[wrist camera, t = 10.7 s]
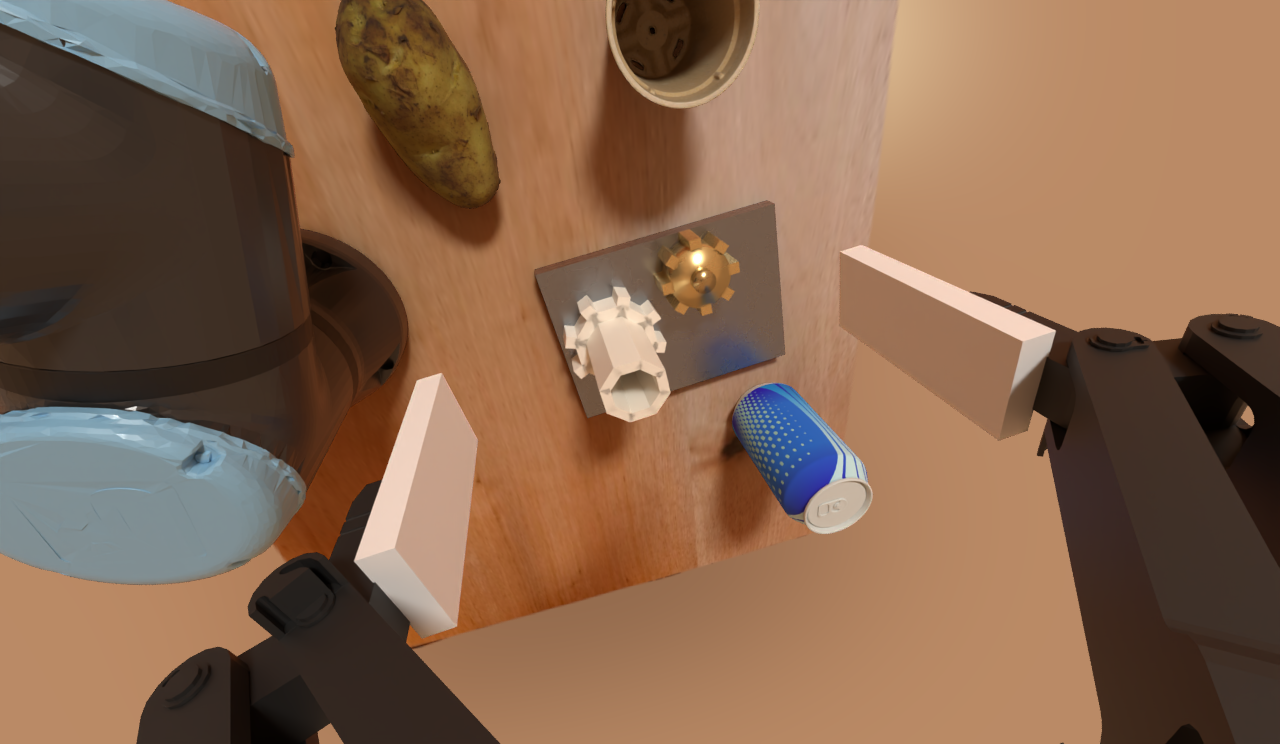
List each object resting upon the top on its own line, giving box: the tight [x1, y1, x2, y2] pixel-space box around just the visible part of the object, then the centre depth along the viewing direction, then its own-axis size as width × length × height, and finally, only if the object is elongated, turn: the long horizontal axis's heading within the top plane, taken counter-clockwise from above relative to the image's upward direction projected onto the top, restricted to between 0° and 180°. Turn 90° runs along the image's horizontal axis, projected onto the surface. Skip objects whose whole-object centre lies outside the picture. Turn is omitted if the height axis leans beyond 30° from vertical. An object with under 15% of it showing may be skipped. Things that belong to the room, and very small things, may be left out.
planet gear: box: [563, 287, 671, 422], centre depth 41 cm, size 9×9×10 cm
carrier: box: [535, 201, 785, 418], centre depth 45 cm, size 22×16×6 cm
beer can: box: [732, 383, 873, 534], centre depth 49 cm, size 8×8×16 cm
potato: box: [335, 0, 501, 209], centre depth 32 cm, size 8×13×8 cm, turn 0°
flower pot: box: [606, 0, 760, 109], centre depth 32 cm, size 9×9×9 cm
